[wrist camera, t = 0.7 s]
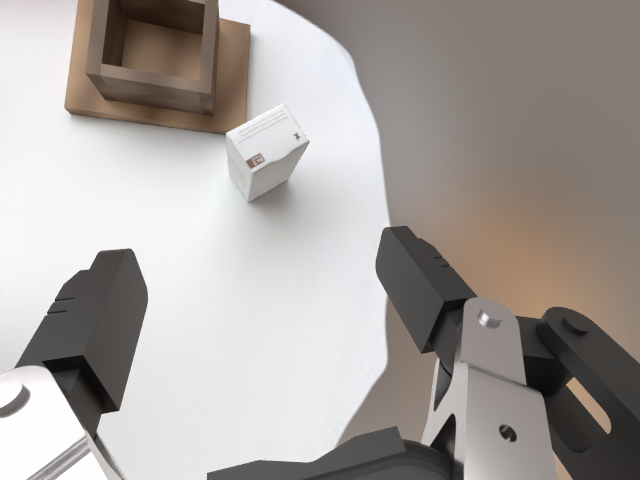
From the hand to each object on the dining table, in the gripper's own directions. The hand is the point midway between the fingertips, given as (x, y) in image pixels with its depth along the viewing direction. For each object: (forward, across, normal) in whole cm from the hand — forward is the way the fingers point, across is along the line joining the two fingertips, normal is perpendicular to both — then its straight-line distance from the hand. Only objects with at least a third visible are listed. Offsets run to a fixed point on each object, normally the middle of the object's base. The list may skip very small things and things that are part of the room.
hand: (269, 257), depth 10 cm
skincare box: (+27, -1, +10) cm, 29 cm away
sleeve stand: (+36, +8, 0) cm, 37 cm away
